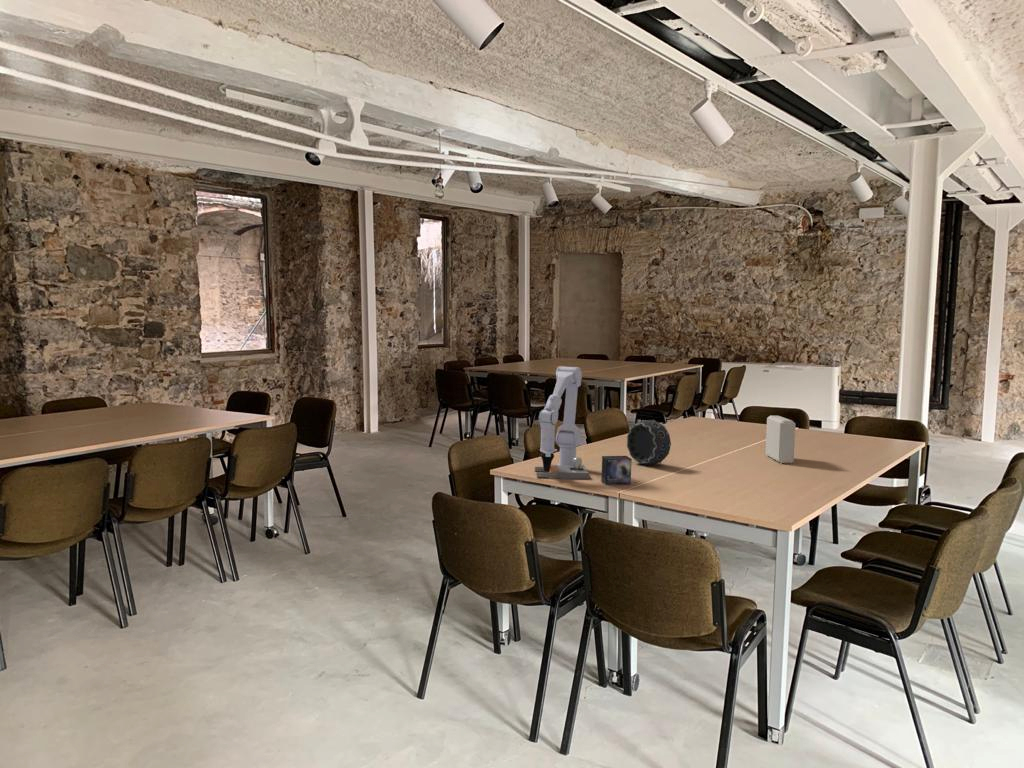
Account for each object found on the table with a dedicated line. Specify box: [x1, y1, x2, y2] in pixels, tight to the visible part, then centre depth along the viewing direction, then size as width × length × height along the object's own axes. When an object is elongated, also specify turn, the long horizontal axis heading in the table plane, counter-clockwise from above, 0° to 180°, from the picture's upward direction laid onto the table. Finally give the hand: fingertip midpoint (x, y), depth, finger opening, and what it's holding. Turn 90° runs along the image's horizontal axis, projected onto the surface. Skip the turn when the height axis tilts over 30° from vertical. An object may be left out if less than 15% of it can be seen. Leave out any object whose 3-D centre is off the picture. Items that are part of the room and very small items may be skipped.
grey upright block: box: [765, 415, 796, 464], centre depth 354 cm, size 21×8×20 cm, turn 179°
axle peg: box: [573, 457, 583, 470], centre depth 312 cm, size 4×4×7 cm
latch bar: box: [548, 463, 559, 473], centre depth 311 cm, size 10×3×4 cm, turn 1°
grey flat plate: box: [534, 464, 590, 480], centre depth 312 cm, size 16×21×2 cm
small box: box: [600, 455, 633, 485], centre depth 297 cm, size 11×6×10 cm, turn 101°
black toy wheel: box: [626, 419, 672, 466], centre depth 337 cm, size 11×20×20 cm, turn 35°
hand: (546, 471), depth 311 cm, fingers closed, pressing on latch bar
